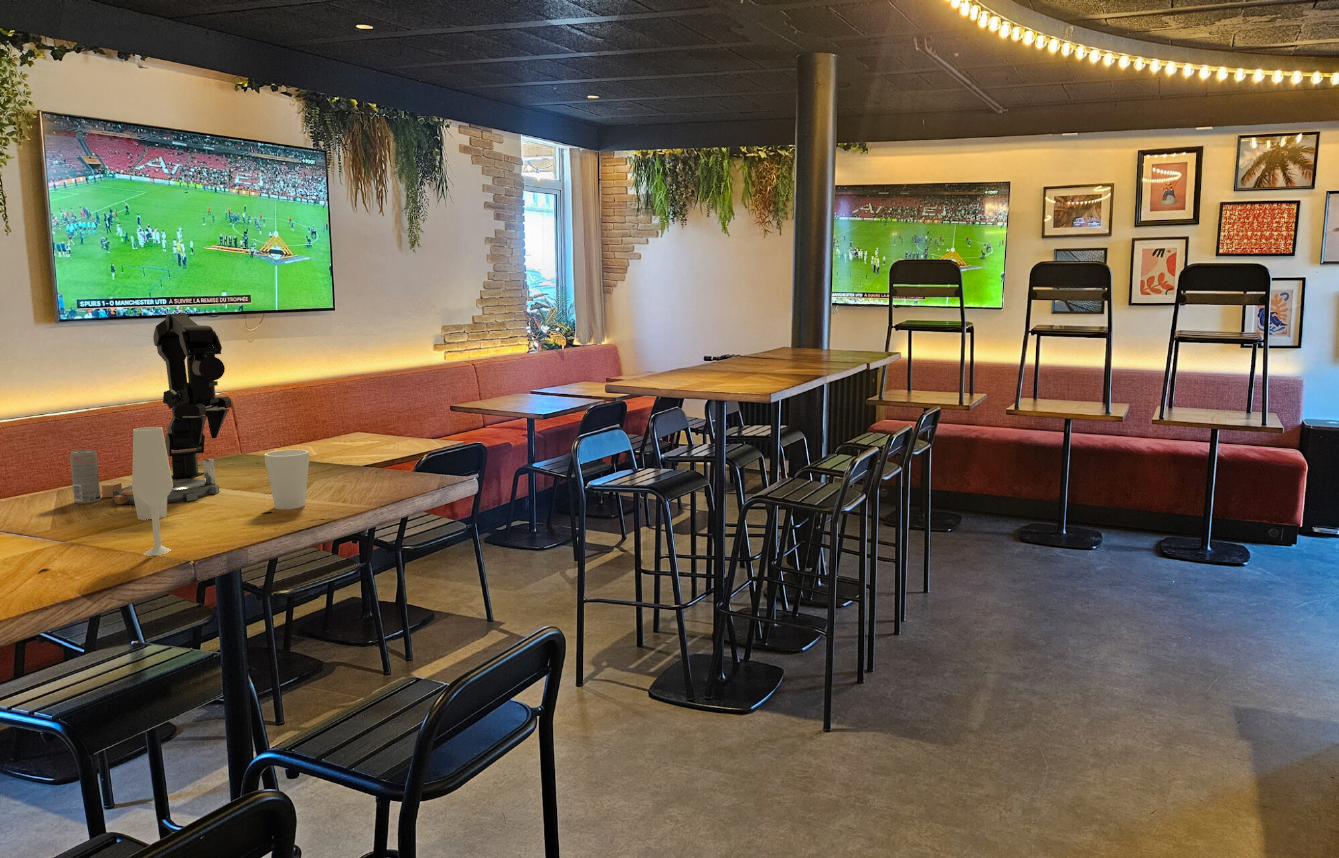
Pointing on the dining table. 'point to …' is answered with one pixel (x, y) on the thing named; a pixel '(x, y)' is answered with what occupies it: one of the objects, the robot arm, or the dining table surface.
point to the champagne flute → (151, 476)
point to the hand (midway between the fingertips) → (205, 441)
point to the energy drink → (85, 476)
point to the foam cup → (288, 477)
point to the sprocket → (179, 488)
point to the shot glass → (149, 508)
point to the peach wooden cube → (110, 489)
